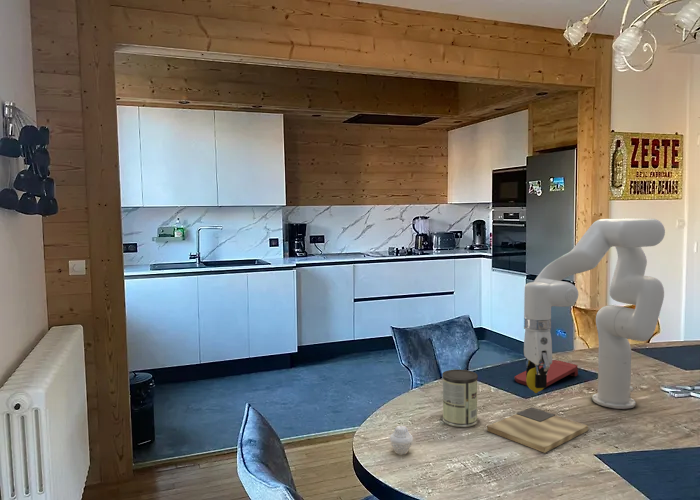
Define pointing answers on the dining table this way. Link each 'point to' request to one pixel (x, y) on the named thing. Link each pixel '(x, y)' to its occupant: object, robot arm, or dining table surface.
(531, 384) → the lemon
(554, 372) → the red sloped ramp
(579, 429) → the board
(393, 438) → the white rounded piece
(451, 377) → the coffee can
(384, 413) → the dining table surface
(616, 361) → the robot arm
